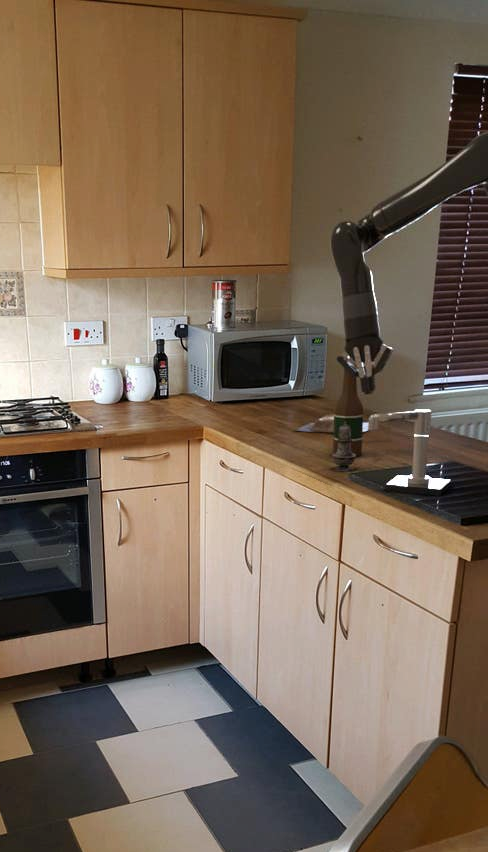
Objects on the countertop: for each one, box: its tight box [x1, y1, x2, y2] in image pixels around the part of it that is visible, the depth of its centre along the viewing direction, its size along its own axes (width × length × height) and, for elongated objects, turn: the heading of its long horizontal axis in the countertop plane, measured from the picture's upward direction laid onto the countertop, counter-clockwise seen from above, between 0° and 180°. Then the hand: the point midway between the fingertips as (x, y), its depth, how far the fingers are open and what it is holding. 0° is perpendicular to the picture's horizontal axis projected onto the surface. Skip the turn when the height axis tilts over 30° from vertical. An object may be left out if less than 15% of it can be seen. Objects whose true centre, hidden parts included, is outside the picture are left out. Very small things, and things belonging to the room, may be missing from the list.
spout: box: [367, 408, 433, 436], centre depth 192 cm, size 14×4×5 cm, turn 101°
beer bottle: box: [332, 363, 364, 458], centre depth 233 cm, size 8×8×24 cm
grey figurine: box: [331, 421, 357, 472], centre depth 217 cm, size 6×6×12 cm
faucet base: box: [385, 434, 451, 497], centre depth 196 cm, size 12×10×12 cm
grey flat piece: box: [296, 413, 370, 434], centre depth 278 cm, size 21×20×4 cm
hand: (369, 393), depth 198 cm, fingers closed
